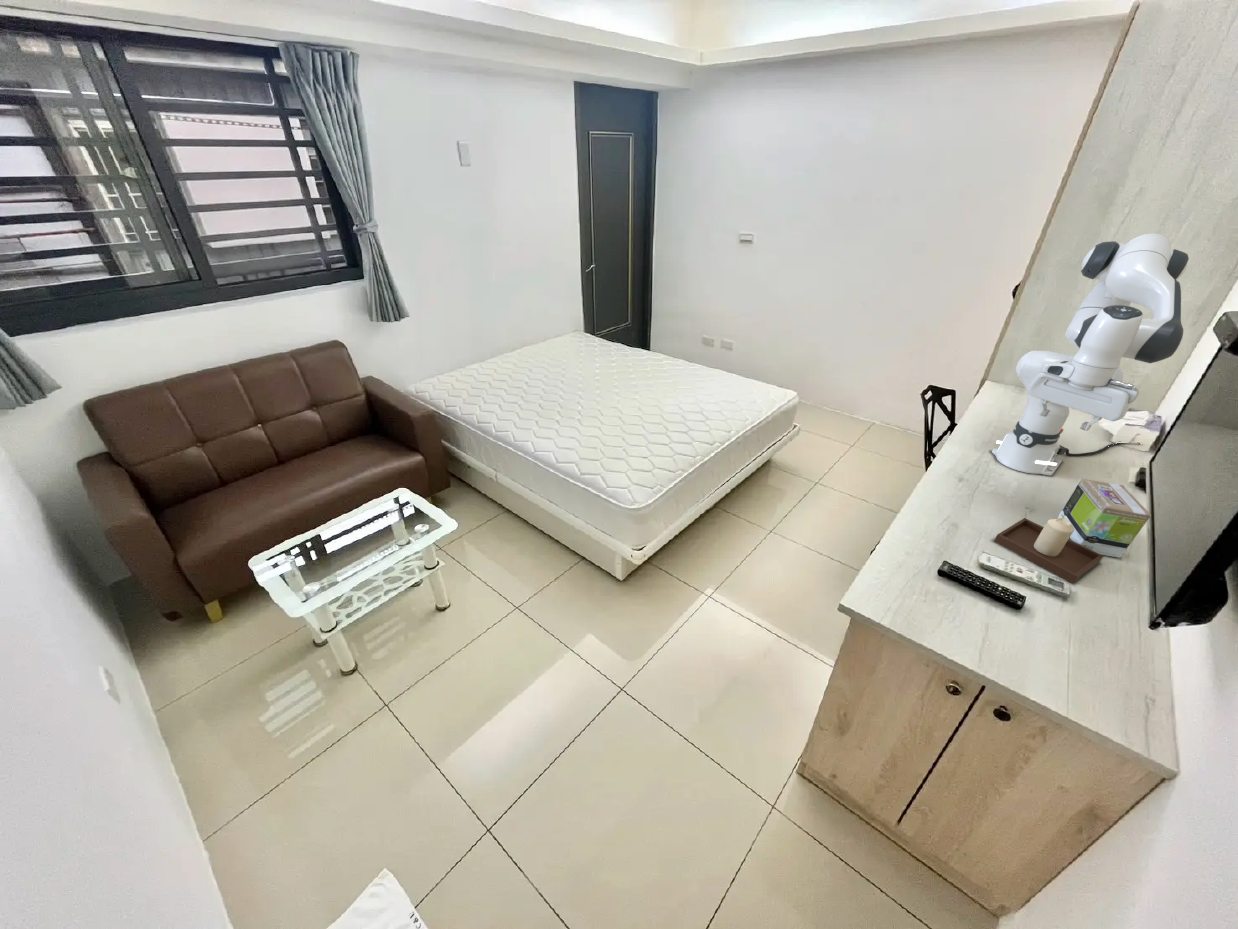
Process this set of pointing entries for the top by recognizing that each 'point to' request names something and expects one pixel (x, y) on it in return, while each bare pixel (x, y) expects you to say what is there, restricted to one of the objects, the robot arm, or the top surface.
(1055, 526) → the candle
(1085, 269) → the robot arm
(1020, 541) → the tray
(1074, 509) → the tea box
